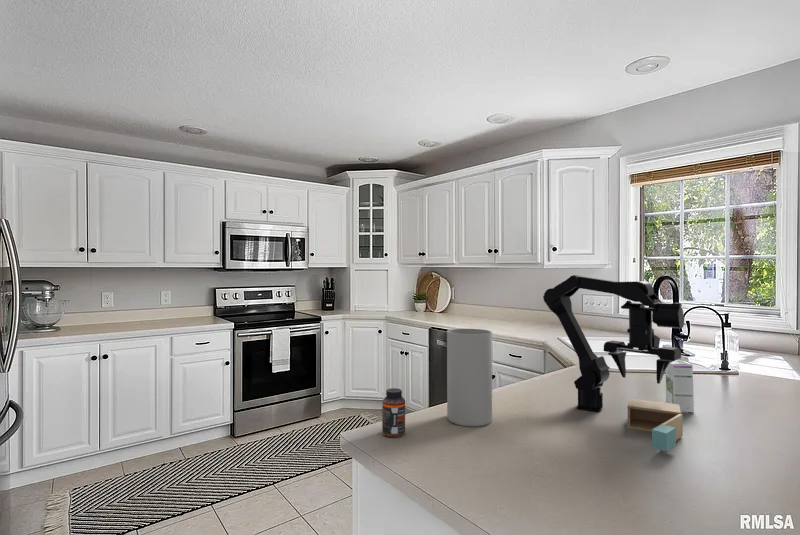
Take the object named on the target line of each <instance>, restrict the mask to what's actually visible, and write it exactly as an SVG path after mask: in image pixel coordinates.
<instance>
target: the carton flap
mask: <svg viewBox="0 0 800 535" xmlns="http://www.w3.org/2000/svg"><path fill="white" fill-rule="evenodd" d="M683 431H684V430H683V414H682V413H681V414H679V415H677V416H675V417H673V418H671V419H670V420H668V421H666V422H664V423H663V424H661V425H659V426H657V427H656V428H654V429H652V432H651V447H652V448H654V449H658V450H660V451H664V452H669V450H671V449H672V448H674V447H675V446H676V445H677V441H678V440H680V439H681V438H682V437H683V436H684V434H683Z"/></svg>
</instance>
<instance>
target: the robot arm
mask: <svg viewBox="0 0 800 535" xmlns="http://www.w3.org/2000/svg"><path fill="white" fill-rule="evenodd" d="M580 289H582V290H588V291H595V292H600V293H605V294H606V293H608V294H612V295H616V296H618V297H621V298H624V299H626V302H625V303H624V304H623V305H620V308H621V309H622V310H628V328H627V330H626V331H627V333H628V343H627V344H626V342H625V341H620V340H619V341H618V340H607V341H605V342H604V344H603V352H605V353H607V355H608V356H611V358H612V360H613V361H614V363H615V364H616V367H617V368H618V370H619V372H620V375H621V377H622V378H626V374H627V370H626V369H627V367H626V355H627V352H628V353H629V352H630V353H636V354H643V355H653V356H657V357H658V358H657V359H656V384H661V381H662V379H663V377H664V375H665V373H666V368H667V366H668V364H669V363H671V362H673V361H675V360H680V359H682V350H680V348H679V347H673V346H665V345H664V346H661V347H660V342H661V338H660V337H659V336H657V335H656V334H655V330H654V328H653V324H654V325H655V324H656V326H657V327H658V328H672V329H683V328H684V325H685V314H684V309H683V307H682V303H681V302H672V303H671V302H670V303H669V302H667V303H666V302H662V301H661V299H660V298H659V296H658V295H656V294H655V291H654V290H655V289H654V287H653V285H652V284H651V283H650V282H648V281H645V280H644V281H643V280H642V281H640V280H639V281H615V280H608V279H601V278H595V277H594V278H593V277H588V276H583V275H579V274H578V275H570V276H569V277H567V278H566V280H564V281H562V282H560V283H559V284H557V285H555V286H554V287H553V288H548V289H547V290H545V292H544V293H543V302H544V303H545V305H546V306H547V307H548V309H549V310H550V311H551V312H552V313H553V314H554V315H556V317H557V318H558V320H559V322H560V324H561V325H562V328H563V330H564V332H565V334H566V336H567V338H568V340H569V341H570V343H571V345H572V348H573V350H574V351H575V355H577V358H578V366H579V367H578V369H579V371H580V374H581V376H579V377H578V378H577V379H576V380H574V382H573V383H574V386H575V389H576V390H577V405H576V408H577V409H579V410H586V411H593V412H601V410H602V409H603V407H604V393H603V392H601V391H602V390H601V389H602V387H603V385H604V383H605V382H606V381H608V379H609V377H610V374H611V373H610V371H609V369H610V366H609V365H608V364H607V363H606V358H605V357H604V356H603V355H600V356H597V355H596V354H595V353H594V352H593V349H592V347H591V346H590V344H589V342H588V340H587V338H586V336H585V334H584V332H583V331H582V329H581V327H580V324H579V322H578V320H577V318H576V316H575V315H574V313H573V309H572V301H571V300H572V299H571V297H572V296H574V295H575V294H576V293H577V292H578V291H579V290H580ZM634 302H635V303H634Z"/></svg>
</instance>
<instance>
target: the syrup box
mask: <svg viewBox="0 0 800 535" xmlns="http://www.w3.org/2000/svg"><path fill="white" fill-rule="evenodd" d="M693 366H694V364H692V363H690V362H687V361H685V360H680V359H677V360H675V361H673V362H671V363H669V364H668V366H667V368H666V370H665V396H666V397H665V400H666V401H665V403H671V404H678V405H679V407H680V411H681V413H688V412H692V414H694V413H695V400H694V399H695V398H694V368H693Z"/></svg>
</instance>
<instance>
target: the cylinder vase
mask: <svg viewBox="0 0 800 535" xmlns="http://www.w3.org/2000/svg"><path fill="white" fill-rule="evenodd" d="M446 345H447V346H446V348H447V349H446V355H447V356H446V362H447V364H446V365H447V366H446V368H447V369H446V371H447V372H446V378H447V379H446V384H447V385H446V395H447V396H446V397H447V398H446V400H447V401H446V404H447V406H446V407H447V408H446V410H447V413H446V415H447V419H448V421H449V422H450V423H452V424H455V425H457V426H463V427H468V428H469V427H471V428H472V427H473V428H475V427H477V428H478V427H483V426H487V425H488V424H490V423H492V420H493V331H492V330H488V329H481V328H452V329H447V331H446Z"/></svg>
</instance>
